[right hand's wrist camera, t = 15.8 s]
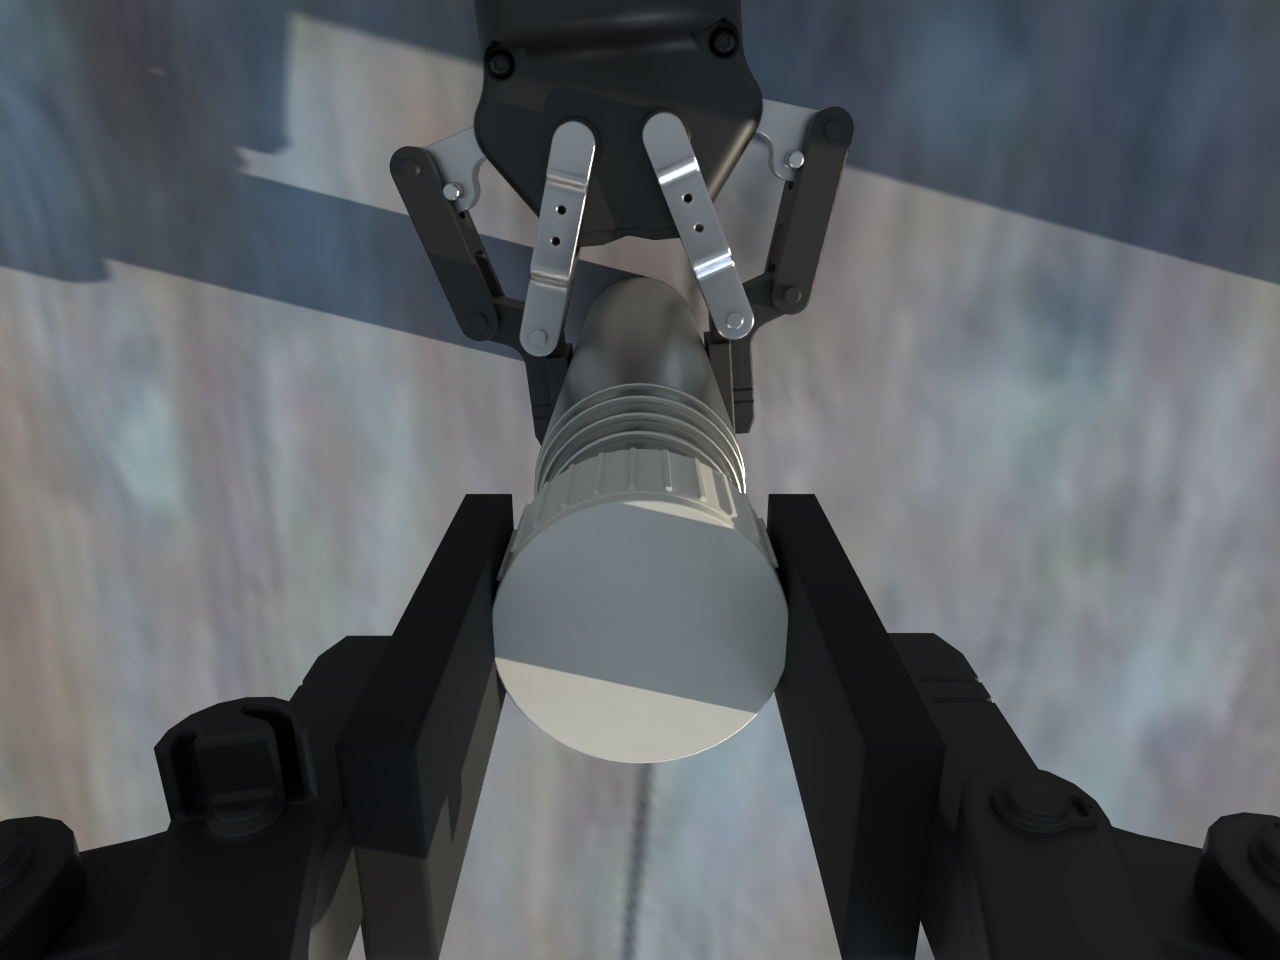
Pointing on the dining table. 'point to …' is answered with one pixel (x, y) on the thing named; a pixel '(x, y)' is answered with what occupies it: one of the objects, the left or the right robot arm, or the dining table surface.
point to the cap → (640, 608)
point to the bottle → (640, 387)
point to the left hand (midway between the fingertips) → (647, 449)
